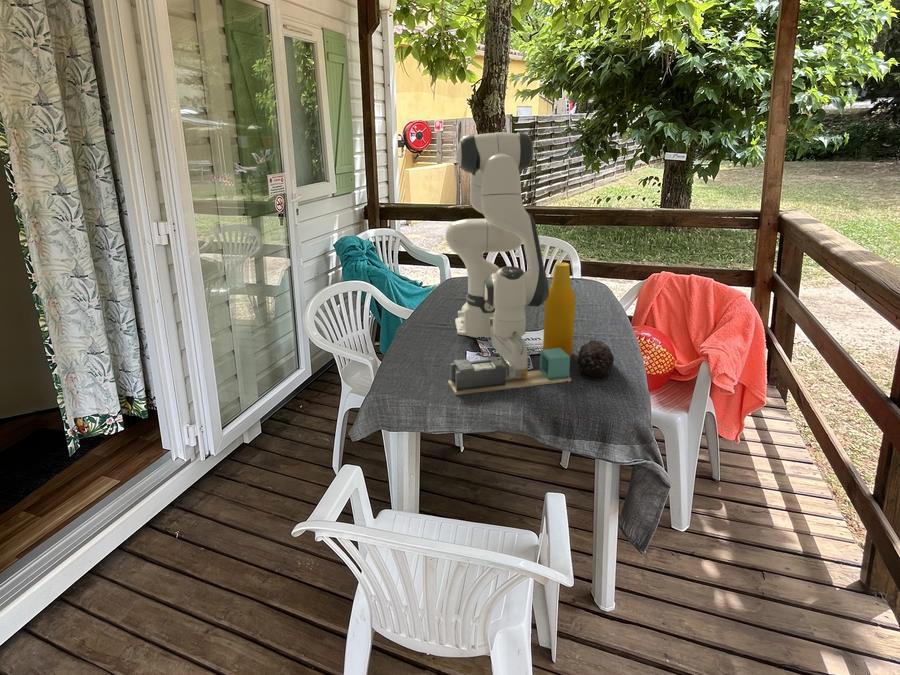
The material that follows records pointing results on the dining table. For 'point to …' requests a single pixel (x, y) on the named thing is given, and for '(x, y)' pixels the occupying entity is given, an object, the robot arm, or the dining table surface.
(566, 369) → the teal cube
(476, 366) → the slip tube
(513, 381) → the board
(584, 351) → the pine cone
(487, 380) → the sleeve
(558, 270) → the beer bottle
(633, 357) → the dining table surface
